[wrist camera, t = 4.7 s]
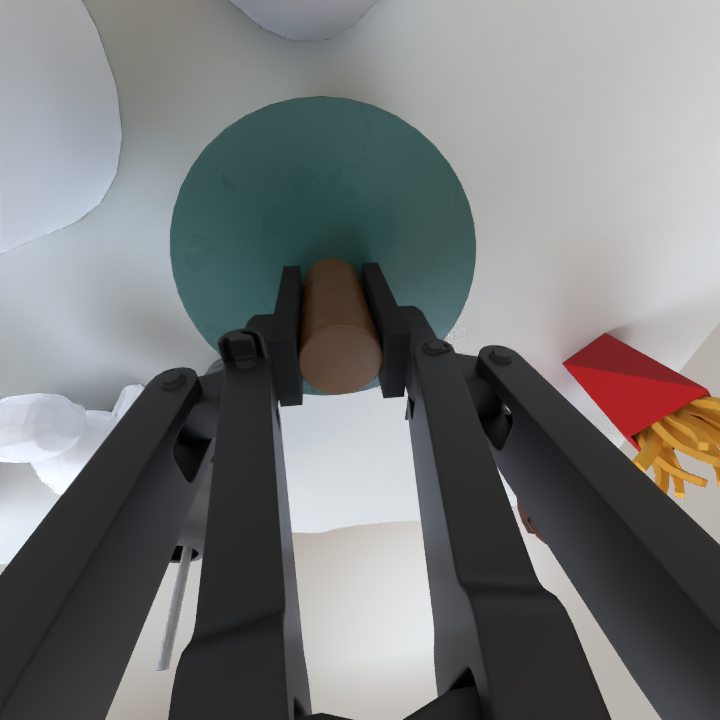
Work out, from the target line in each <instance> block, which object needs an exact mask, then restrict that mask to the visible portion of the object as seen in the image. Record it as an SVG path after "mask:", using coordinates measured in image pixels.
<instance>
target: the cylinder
mask: <svg viewBox="0 0 720 720" xmlns="http://www.w3.org/2000/svg"><path fill="white" fill-rule="evenodd" d="M121 143H122V128H121V119H120V111H119V102H118V94H117V87H116V84H115V81H114V78H113V75H112V72H111V69H110V66H109V63H108V60H107V57H106V54H105V51H104V48H103V45H102V42H101V39H100V36H99V33H98V30H97V28H96V26H95V24H94V22H93V20H92V19H91V17H90V15H89V13H88V11H87V9H86V7H85V5H84V3H83V2H82V0H0V254H1V253H3V252H6V251H8V250H10V249H13V248H15V247H18V246H20V245H22V244H25V243H27V242H30V241H32V240H35V239H37V238H39V237H42V236H44V235H47V234H49V233H51V232H54V231H56V230H59V229H61V228H63V227H66V226H68V225H71V224H73V223H75V222H77V221H79V220H80V219H81V218H82V217H84V216H85V215H86V214H87V213H89V212H90V211H91V210H93V209H94V208H95V207H96V206H98V205H99V204H100V203H101V202H102V200H103V198H104V196H105V194H106V193H107V191H108V189H109V187H110V185H111V184H112V182H113V180H114V178H115V176H116V174H117V168H118V162H119V155H120V149H121Z"/></svg>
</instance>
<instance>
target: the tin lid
mask: <svg viewBox="0 0 720 720" xmlns="http://www.w3.org/2000/svg"><path fill="white" fill-rule="evenodd" d="M170 257H171V264H172V271H173V276H174V279H175V283H176V286H177V290H178V293H179V296H180V298H181V300H182V303H183V305H184V307H185V309H186V312H187V313H188V315H189V317H190V318H191V320H192V322H193V323H194V325H195V327H196V328H197V329H198V331H199V332H200V333H201V335H202V336H203V337H204V338H205V340H206V341H207V342H208V343H209V344H210V345H211V346H212V347H213V348H214V349H215V350H216V351H217V352H218V353H219V354H220V355H221V353H220V350H219V347H218V344H217V342H218V340H219V338H220V337H221V336H223V335H224V334H225V333H228V332H230V331H232V330H236V329H241V328H245V327H246V324H247V321H248V320H250V319H251V318H252V317H253V316H254V315H260V314H274V310H275V305H276V300H277V296H278V291H279V286H280V281H281V276H282V271H283V266H300V272H301V281H302V299H301V314H300V330H299V345H298V366H299V371H300V374H301V375H302V377H303V394H311V395H340V394H348V393H355V392H359V391H363V390H368V389H371V388H374V387H377V386H380V382H379V378H378V374H379V372H380V370H381V368H382V364H383V350H382V347H381V343H380V340H379V337H378V334H377V330H376V327H375V324H374V321H373V318H372V314H371V311H370V308H369V305H368V301H367V298H366V295H365V292H364V288H363V285H362V263H378V264H379V266H380V268H381V271H382V273H383V275H384V277H385V279H386V281H387V283H388V286H389V288H390V290H391V292H392V294H393V296H394V298H395V300H396V303H397V305H398V306H412V305H414V306H415V307H417V308H418V309H420V310H421V311H422V312H423V314H424V316H425V317H426V319H427V321H428V322H429V324H430V326H431V328H432V329H433V331H434V333H435V334H436V336H437V338H438V339H441V340H444V339H445V337H446V336H447V334H448V333H449V332H450V330H451V329H452V328H453V326H454V324H455V322H456V321H457V319H458V317H459V315H460V314H461V312H462V309H463V307H464V305H465V302H466V300H467V297H468V294H469V291H470V287H471V284H472V280H473V274H474V268H475V258H476V239H475V229H474V222H473V218H472V214H471V210H470V205H469V202H468V200H467V197H466V195H465V192H464V190H463V187H462V185H461V183H460V181H459V179H458V177H457V176H456V174H455V172H454V171H453V169H452V167H451V165H450V164H449V163H448V161H447V160H446V159H445V158H444V156H443V155H442V154H441V153H440V151H439V150H438V149H437V148H436V146H435V145H434V144H432V143H431V142H430V141H429V140H428V139H427V138H426V137H425V136H424V135H423V134H422V133H420V132H419V131H418V130H417V129H416V128H414V127H413V126H411V125H410V124H408V123H407V122H405V121H403V120H402V119H400V118H399V117H397V116H396V115H393V114H391V113H389V112H387V111H385V110H382V109H380V108H378V107H376V106H373V105H370V104H366V103H362V102H359V101H355V100H351V99H346V98H335V97H325V96H319V97H305V98H294V99H290V100H286V101H282V102H278V103H274V104H270V105H268V106H266V107H263V108H261V109H259V110H256V111H254V112H252V113H250V114H247V115H245V116H244V117H242V118H241V119H239V120H238V121H236V122H235V123H233V124H232V125H230V126H229V127H227V128H226V129H224V130H223V131H222V132H221V133H220V134H219V135H218V136H217V137H216V138H215V139H214V140H213V141H212V142H211V143H210V144H209V145H208V146H207V147H206V148H205V149H204V150H203V152H202V153H201V154H200V156H199V157H198V159H197V160H196V161H195V163H194V164H193V165H192V167H191V168H190V170H189V172H188V174H187V176H186V178H185V180H184V182H183V184H182V186H181V188H180V191H179V194H178V197H177V201H176V204H175V207H174V210H173V216H172V223H171V229H170Z"/></svg>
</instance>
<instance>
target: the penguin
mask: <svg viewBox="0 0 720 720" xmlns="http://www.w3.org/2000/svg"><path fill="white" fill-rule="evenodd" d="M144 389H145V388H144V387H143V386H142V385H141V384H138V385H132V384H131V385H129V386H127V387H124V389H123V390H122V392H121V394H120V398H119V399H118V402H117V403H116V405H115V407H114V409H113V411H112V412H108V411H93V410H90V411H85V409H84V408H83V407H82V406H81V405H79V404H75V403H72V402H71V401H70V400H69V399H68V398H66V397H64V396H62V395H56V394H43V393H33V394H26V395H20V396H11V397H7V398H4V399H1V400H0V462H13V463H27V462H30V464H31V466H32V467H33V468H34V470H35V472H36V473H37V476H38V478H39V479H40V481H41V482H45V483H46V484H47V485H48V486H49V487H50V488H51V489H52V490H53V491H54V492H55V493H57V494H63V493H64V492H65V491H66V489H67V488H68V487H69V486H70V484H71V483H72V482H73V480H74V479H75V478H76V477H77V475H78V474H79V473H80V471H81V470H82V469H83V467H84V466H85V465H86V464H87V462H88V461H89V460H90V458H91V457H92V456H93V455H94V453H95V452H96V451H97V449H98V448H99V447H100V445H101V444H102V443H103V442H104V440H105V439H106V438H107V436H108V435H109V434H110V433H111V431H112V430H113V429H114V427H115V426H116V425H117V423H118V422H119V421H120V420H121V418H122V417H123V416H124V414H125V413H126V412H127V411H128V409H129V408H130V407H131V405H132V404H133V403H134V401H135V400H136V399H137V398H138V396H139V395H140V394H141V392H142V391H143V390H144Z"/></svg>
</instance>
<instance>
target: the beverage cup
mask: <svg viewBox="0 0 720 720" xmlns="http://www.w3.org/2000/svg"><path fill="white" fill-rule="evenodd" d="M222 369H224V363H223V360H222V359H221V360H218V361H216V362H214V363H213V364H212V365H211V366H210V368H209V369H208V371H207V373H206V374H205V375H208V374H212V373H215V372H218V371H220V370H222ZM213 460H214V454H213V457H212V459H211V462H210V464H209V467H208V469H207V471H206V474H205V476H204V479H203V481H202V484H201V486H200V489H199V491H198V493H197V496H196V498H195V501H194V503H193V506H192V508H191V511H190V513H189V515H188V518H187V520H186V523H185V525H184V528H183V530H182V533H181V535H180V537H179V540H178V542H177V545H176V547H175V550H174V552H173V555H172V557H171V559H170V562H171V563H180V565H179V570H178V574H177V578H176V583H175V588H174V592H173V597H172V601H171V606H170V610H169V615H168V620H167V624H166V629H165V633H164V638H163V642H162V647H161V652H160V656H159V661H158V665H157V670H156V671H161V670H167V669H169V665H170V660H171V655H172V650H173V645H174V640H175V635H176V630H177V625H178V621H179V615H180V611H181V605H182V601H183V596H184V590H185V586H186V581H187V575H188V571H189V566H190V562H191V561H196V560H199V559H201V558H203V550H204V541H205V532H206V523H207V514H208V505H209V496H210V487H211V478H212V469H213Z"/></svg>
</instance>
